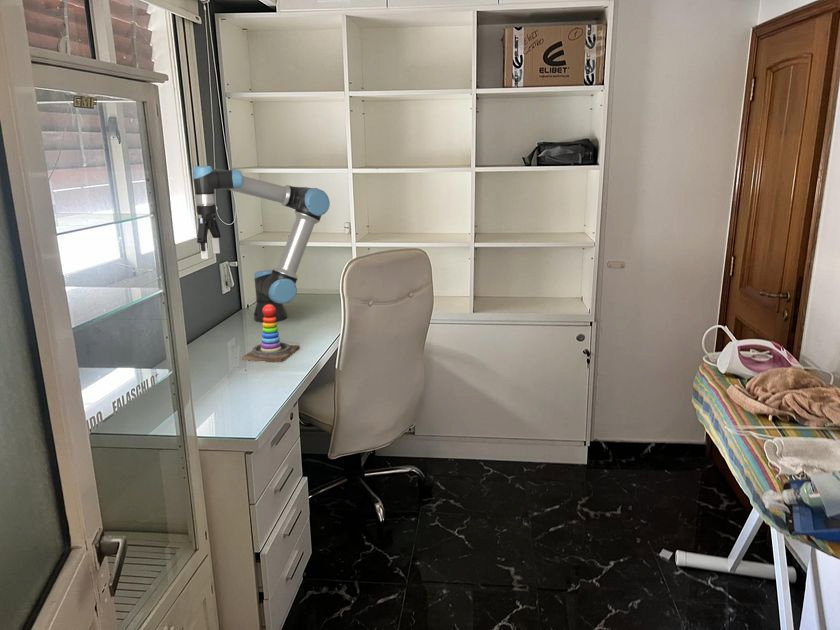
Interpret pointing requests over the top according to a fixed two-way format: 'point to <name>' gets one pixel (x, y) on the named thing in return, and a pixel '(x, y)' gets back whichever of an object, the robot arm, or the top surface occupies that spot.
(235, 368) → the top surface
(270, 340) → the stacking toy
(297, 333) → the top surface
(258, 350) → the collar board
